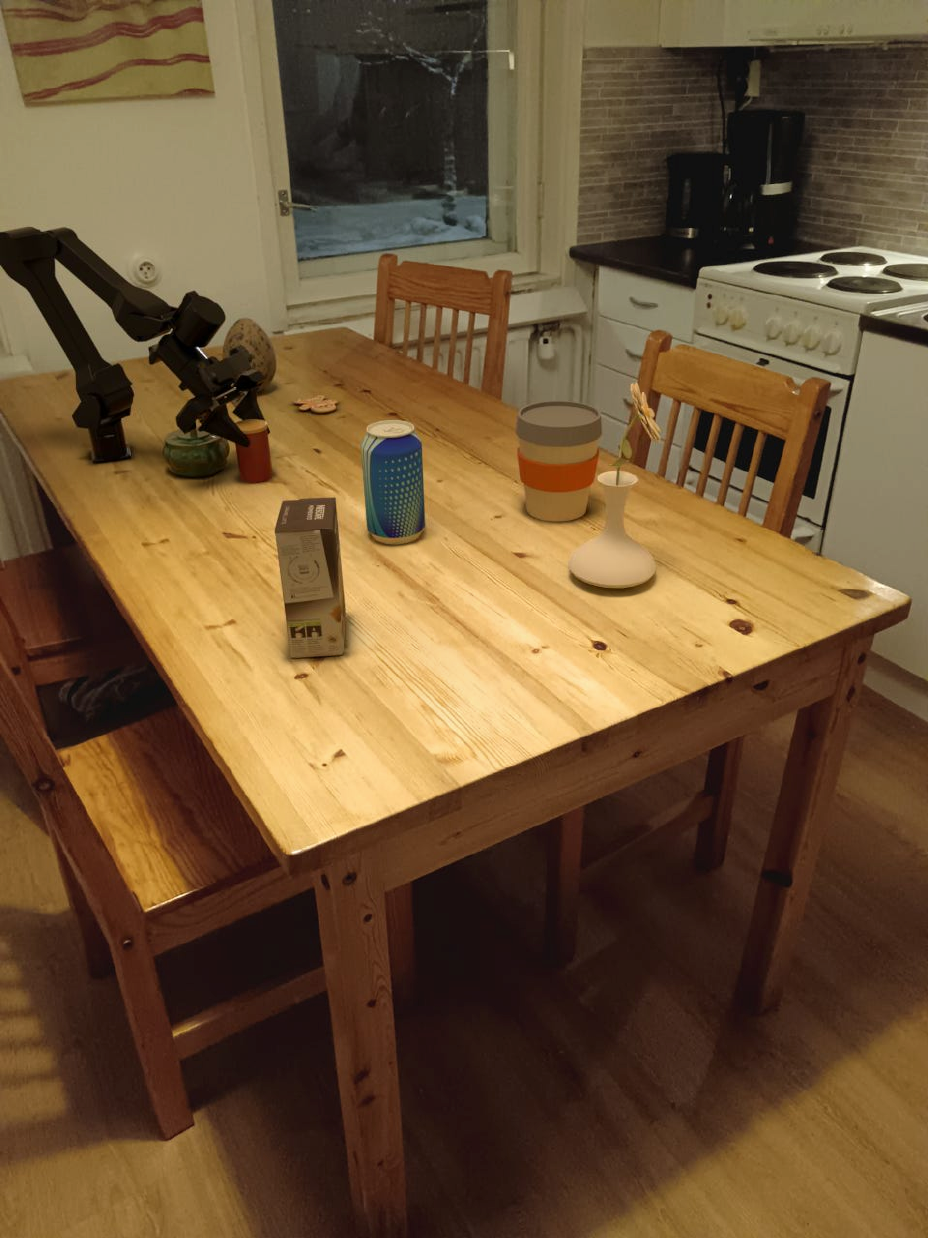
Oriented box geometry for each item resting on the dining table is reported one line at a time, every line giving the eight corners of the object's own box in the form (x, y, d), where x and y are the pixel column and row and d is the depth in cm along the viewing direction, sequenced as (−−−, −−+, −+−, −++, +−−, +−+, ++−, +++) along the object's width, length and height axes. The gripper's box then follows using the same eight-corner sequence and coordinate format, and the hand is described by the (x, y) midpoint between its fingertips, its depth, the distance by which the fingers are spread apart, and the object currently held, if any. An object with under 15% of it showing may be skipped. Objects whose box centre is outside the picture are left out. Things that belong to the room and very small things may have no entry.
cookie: (325, 392, 196) (347, 404, 189) (325, 396, 197) (347, 408, 189) (287, 399, 192) (309, 411, 185) (288, 404, 193) (309, 416, 185)
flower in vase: (634, 605, 120) (649, 410, 107) (552, 583, 125) (558, 395, 112) (672, 564, 129) (691, 380, 117) (595, 545, 134) (605, 368, 122)
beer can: (381, 551, 134) (373, 442, 126) (358, 529, 141) (350, 424, 133) (435, 538, 137) (431, 431, 129) (410, 517, 144) (405, 414, 136)
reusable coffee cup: (552, 486, 153) (554, 394, 146) (614, 508, 145) (621, 412, 138) (497, 510, 146) (497, 414, 138) (560, 534, 138) (564, 434, 130)
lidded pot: (163, 462, 166) (154, 417, 162) (227, 453, 169) (220, 408, 165) (169, 484, 157) (160, 437, 153) (237, 474, 160) (230, 428, 156)
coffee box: (345, 655, 111) (333, 529, 103) (289, 659, 110) (273, 532, 102) (347, 616, 119) (336, 495, 111) (295, 619, 118) (280, 498, 110)
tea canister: (245, 470, 162) (237, 418, 157) (277, 470, 161) (271, 419, 157) (235, 482, 157) (227, 430, 153) (268, 483, 157) (261, 430, 152)
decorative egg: (254, 380, 208) (245, 309, 200) (290, 388, 202) (282, 316, 194) (216, 393, 200) (205, 320, 192) (252, 402, 195) (242, 327, 187)
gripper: (178, 347, 141) (251, 427, 143) (249, 319, 156) (314, 392, 158) (145, 395, 148) (215, 471, 150) (215, 363, 163) (279, 433, 165)
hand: (258, 439), depth 156 cm, fingers closed on tea canister, 5 cm apart
